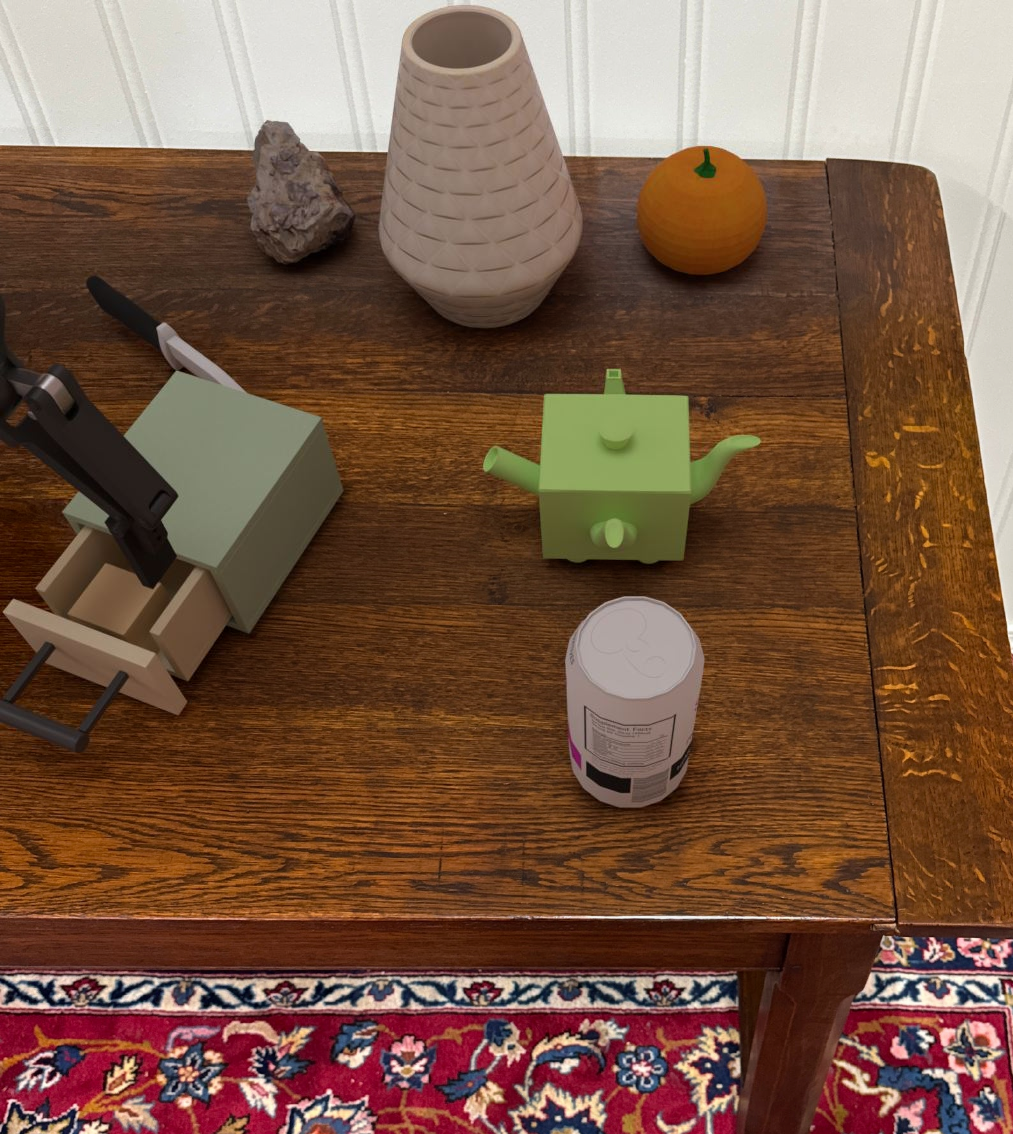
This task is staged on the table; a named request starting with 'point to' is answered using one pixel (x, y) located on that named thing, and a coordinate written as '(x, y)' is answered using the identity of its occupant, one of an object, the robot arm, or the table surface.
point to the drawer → (112, 639)
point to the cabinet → (233, 486)
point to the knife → (156, 334)
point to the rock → (294, 197)
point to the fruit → (701, 211)
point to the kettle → (615, 474)
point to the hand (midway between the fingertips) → (68, 536)
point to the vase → (475, 172)
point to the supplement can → (632, 700)
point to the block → (121, 607)
